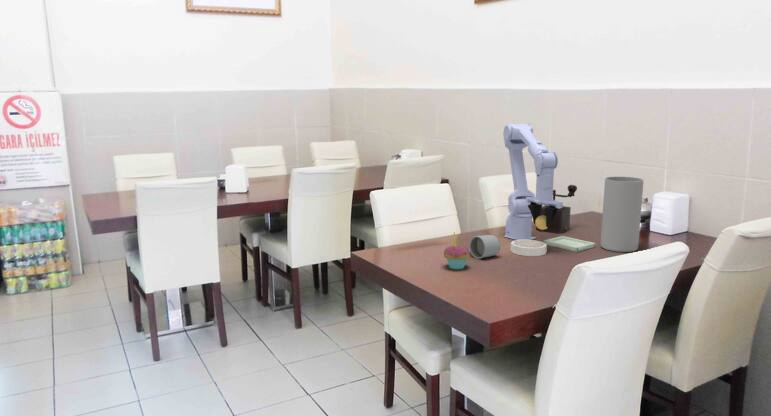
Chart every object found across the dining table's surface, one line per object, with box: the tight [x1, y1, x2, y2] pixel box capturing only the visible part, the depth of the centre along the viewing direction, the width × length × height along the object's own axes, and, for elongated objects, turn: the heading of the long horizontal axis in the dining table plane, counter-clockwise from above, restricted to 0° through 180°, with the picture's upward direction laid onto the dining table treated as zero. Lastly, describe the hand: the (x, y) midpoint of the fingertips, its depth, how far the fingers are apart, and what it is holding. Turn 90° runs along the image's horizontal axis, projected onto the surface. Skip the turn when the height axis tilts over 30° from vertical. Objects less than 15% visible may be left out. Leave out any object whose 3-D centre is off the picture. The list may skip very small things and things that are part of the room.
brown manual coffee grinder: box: [535, 184, 578, 235], centre depth 236 cm, size 16×11×18 cm
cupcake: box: [443, 231, 471, 270], centre depth 184 cm, size 9×8×12 cm
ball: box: [534, 215, 548, 230], centre depth 204 cm, size 5×5×5 cm
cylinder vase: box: [600, 176, 644, 253], centre depth 205 cm, size 12×12×25 cm
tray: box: [543, 235, 596, 253], centre depth 211 cm, size 14×11×2 cm
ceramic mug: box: [468, 234, 501, 260], centre depth 198 cm, size 11×8×8 cm
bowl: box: [509, 239, 548, 257], centre depth 203 cm, size 12×12×3 cm
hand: (542, 225), depth 204 cm, fingers closed on ball, 5 cm apart
